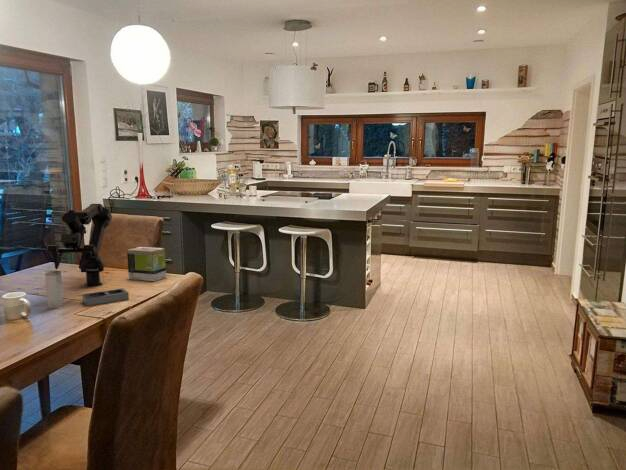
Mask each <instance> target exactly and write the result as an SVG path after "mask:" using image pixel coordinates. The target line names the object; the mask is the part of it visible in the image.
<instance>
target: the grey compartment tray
mask: <svg viewBox="0 0 626 470" xmlns="http://www.w3.org/2000/svg"><path fill="white" fill-rule="evenodd" d="M81 296H82V302H83V304H84V305H85V306H86V305H87V306H86V307H91V306H97V305H98V306H99V305H102V304H103V305H104V304H109V303H116V302H121V301H126V300H127V301H128V300H129V299H130V297H129V292H128V291H127V290H126V289H125V288H123V287H122V288H115V289H109V290H102V291H96V292H95V291H94V292H90V293H89V292H88V293H83V294H82V295H81Z"/></svg>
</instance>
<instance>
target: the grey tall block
mask: <svg viewBox="0 0 626 470" xmlns="http://www.w3.org/2000/svg"><path fill="white" fill-rule="evenodd" d="M44 278H45V289H46V290H45V291H46V301H47V309H60V308H61V307H64V296H63V285H62V284H63V283H62V272H61V270H49V271H47V272H45V273H44Z"/></svg>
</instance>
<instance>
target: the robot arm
mask: <svg viewBox="0 0 626 470" xmlns="http://www.w3.org/2000/svg"><path fill="white" fill-rule="evenodd" d="M112 217H113V216H112V213H111V212H110V209H108V208H106V207H104V206H103V204H102V203H90V204H89V206H88V205H87V207H85V208H84V209H82V210H74V209H70V210H68V212H67V211H66V212H65V213H64V214H63V215H62V216H61V220H62V222H63V225H65V227H66V229H67V230H69V233H62V234H60V243H63V244H62V245H63V246H64V247H60V246H59V245H58V244H49V245H47V246H46V249H45V251H46V252H47V254H48V255H49V256H50V257H51V258H53V261H54V263H53V264H54V268H55V270H58V268H59V266H60V263H61V260H62V255H63V254H81V257H80V259H79V263H78V269H79V270H80V273H85V279H86V281H85V282H84V285H85V286H87V287H95V286H101V285H103V282H101V277H100V273H101V272H104V269H105V265H104V264H103V262H102V258H101V257H100V249H101V244H102V239H103V236H104V232H105V229H106V228H107V227H108V226H109V225H110V223H111V221H112ZM91 222H92V223H93V229H92V232H91V236H90V240H89V243H88V244H85V243H84V238H85V234H87V230H86V229H87V228H86V225H90V224H91Z"/></svg>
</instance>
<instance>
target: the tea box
mask: <svg viewBox="0 0 626 470" xmlns="http://www.w3.org/2000/svg"><path fill="white" fill-rule="evenodd" d="M165 250H166V249H165V248H164V247H148V246H139V247H135V248H134V247H133V248H130V249H129V248H128V249H126V256H127V271H128V273H127V274H128V279H129V280H136V281H148V282H149V281H150V282H157V281H159V280H162V279H165V278H166V277H167V271H166V270H167V268H166V267H167V266H166V265H167V263H166V251H165Z"/></svg>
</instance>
